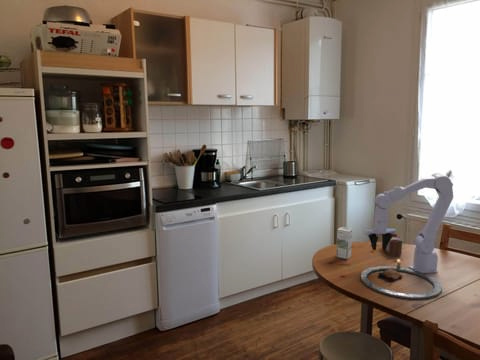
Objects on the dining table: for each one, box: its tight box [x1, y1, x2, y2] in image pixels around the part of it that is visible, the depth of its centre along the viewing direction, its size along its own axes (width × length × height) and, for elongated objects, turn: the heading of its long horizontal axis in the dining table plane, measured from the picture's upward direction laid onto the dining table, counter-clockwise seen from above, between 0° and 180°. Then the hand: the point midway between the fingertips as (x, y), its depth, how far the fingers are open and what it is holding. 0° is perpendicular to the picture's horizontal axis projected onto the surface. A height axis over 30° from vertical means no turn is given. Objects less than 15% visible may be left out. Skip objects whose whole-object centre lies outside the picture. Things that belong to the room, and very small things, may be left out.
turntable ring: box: [360, 258, 443, 300], centre depth 167 cm, size 31×36×3 cm
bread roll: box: [377, 269, 404, 283], centre depth 170 cm, size 11×8×4 cm
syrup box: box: [336, 226, 353, 260], centre depth 193 cm, size 6×6×14 cm
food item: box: [385, 233, 403, 257], centre depth 202 cm, size 14×8×10 cm, turn 175°
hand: (378, 249), depth 181 cm, fingers open, 4 cm apart
